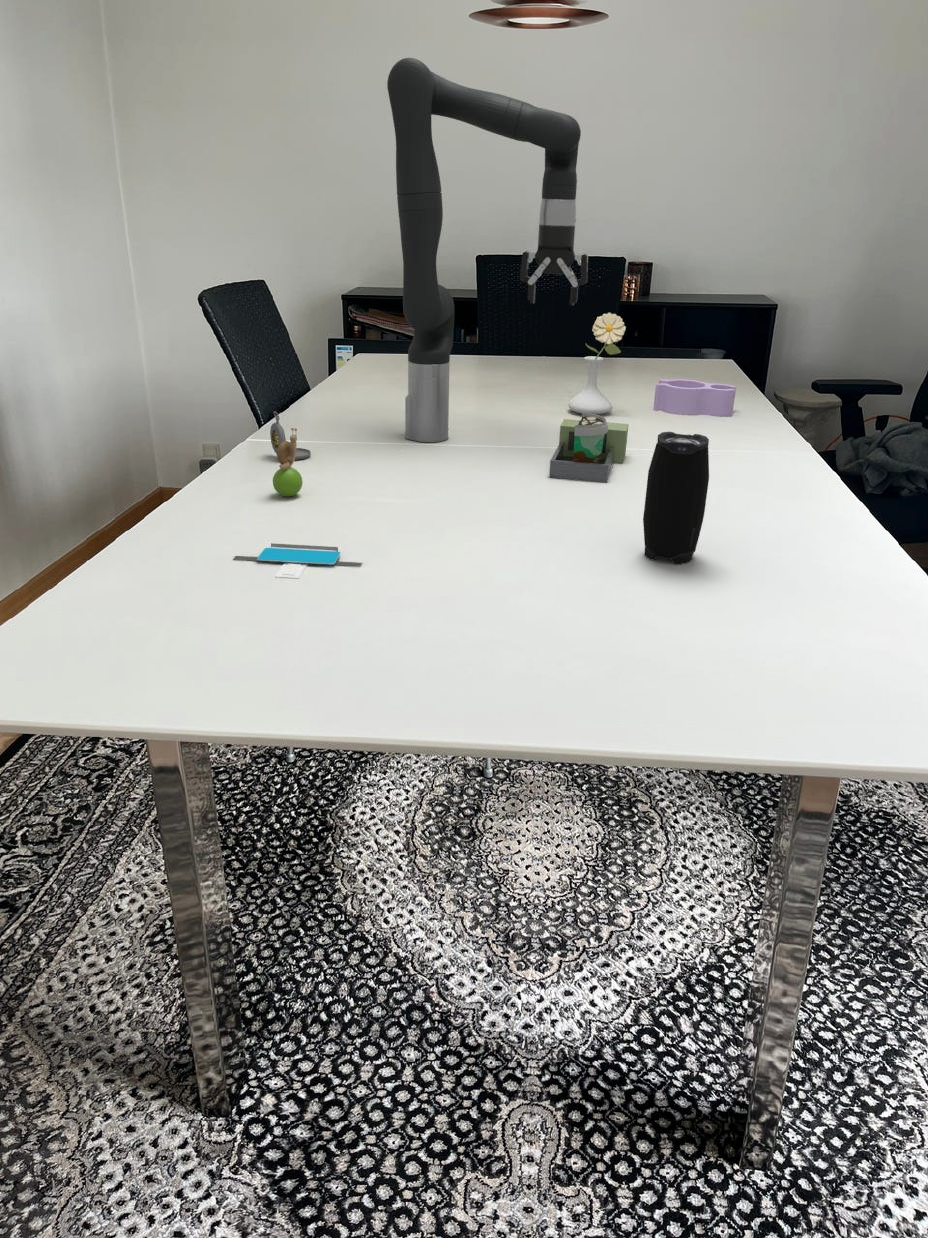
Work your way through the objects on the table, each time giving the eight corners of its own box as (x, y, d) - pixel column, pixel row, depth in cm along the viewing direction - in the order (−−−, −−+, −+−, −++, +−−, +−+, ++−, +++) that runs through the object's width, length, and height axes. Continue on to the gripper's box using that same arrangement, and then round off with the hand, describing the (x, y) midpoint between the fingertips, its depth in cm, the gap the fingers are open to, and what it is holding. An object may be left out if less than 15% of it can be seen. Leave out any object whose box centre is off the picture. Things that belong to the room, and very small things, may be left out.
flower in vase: (562, 414, 245) (569, 312, 235) (574, 405, 255) (581, 307, 244) (612, 420, 241) (621, 316, 230) (622, 411, 250) (632, 311, 240)
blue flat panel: (221, 577, 144) (220, 567, 144) (244, 549, 155) (243, 540, 154) (353, 585, 143) (353, 575, 142) (367, 556, 154) (366, 546, 153)
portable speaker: (631, 548, 158) (643, 431, 150) (683, 545, 161) (698, 429, 152) (653, 567, 151) (667, 445, 143) (707, 563, 153) (724, 442, 145)
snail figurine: (310, 492, 182) (308, 429, 176) (294, 501, 176) (291, 437, 171) (285, 488, 183) (281, 426, 178) (268, 498, 178) (264, 433, 172)
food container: (601, 477, 194) (606, 427, 189) (571, 474, 195) (574, 425, 191) (607, 461, 204) (611, 414, 200) (578, 458, 206) (582, 411, 201)
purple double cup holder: (733, 409, 256) (737, 383, 253) (730, 420, 245) (734, 392, 242) (657, 403, 261) (660, 377, 258) (651, 412, 251) (654, 385, 248)
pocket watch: (316, 455, 205) (315, 408, 201) (294, 464, 198) (292, 416, 194) (284, 450, 208) (282, 403, 204) (261, 459, 201) (258, 411, 197)
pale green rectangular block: (557, 458, 207) (560, 426, 205) (561, 450, 214) (564, 418, 211) (623, 463, 205) (626, 431, 202) (625, 455, 211) (628, 423, 208)
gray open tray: (549, 477, 194) (550, 460, 193) (559, 457, 208) (560, 441, 206) (606, 482, 192) (608, 465, 190) (612, 462, 206) (614, 446, 204)
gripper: (520, 222, 198) (516, 304, 205) (589, 224, 196) (583, 308, 203) (526, 220, 205) (522, 300, 212) (593, 223, 202) (587, 303, 209)
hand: (552, 304), depth 207 cm, fingers open, 8 cm apart
